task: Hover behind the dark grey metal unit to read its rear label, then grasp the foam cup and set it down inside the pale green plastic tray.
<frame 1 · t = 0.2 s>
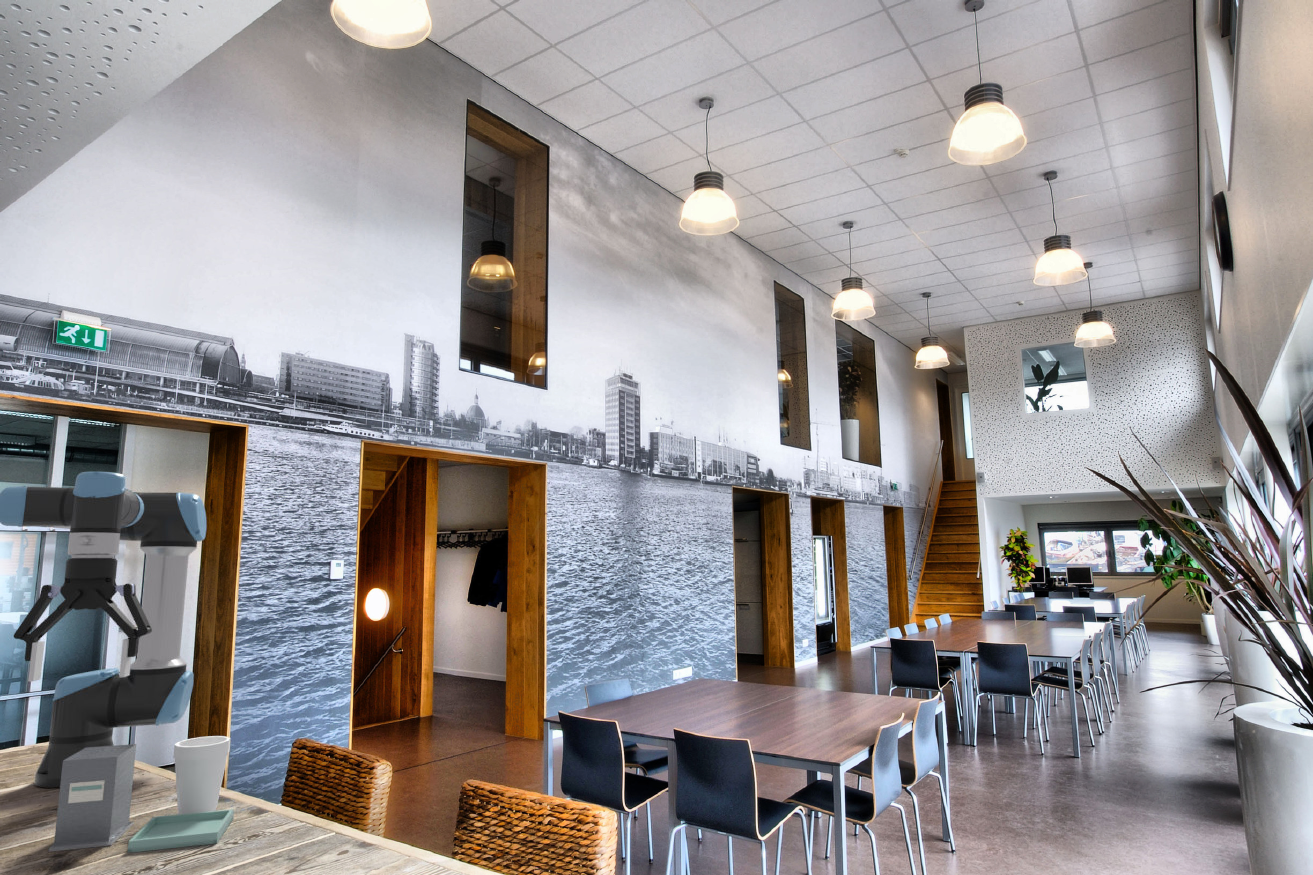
hand: (80, 678, 136), 28 cm above the table, fingers open, 13 cm apart
unit: (92, 837, 135), on the table
foam cup: (197, 812, 149), on the table
tray: (183, 834, 136), on the table
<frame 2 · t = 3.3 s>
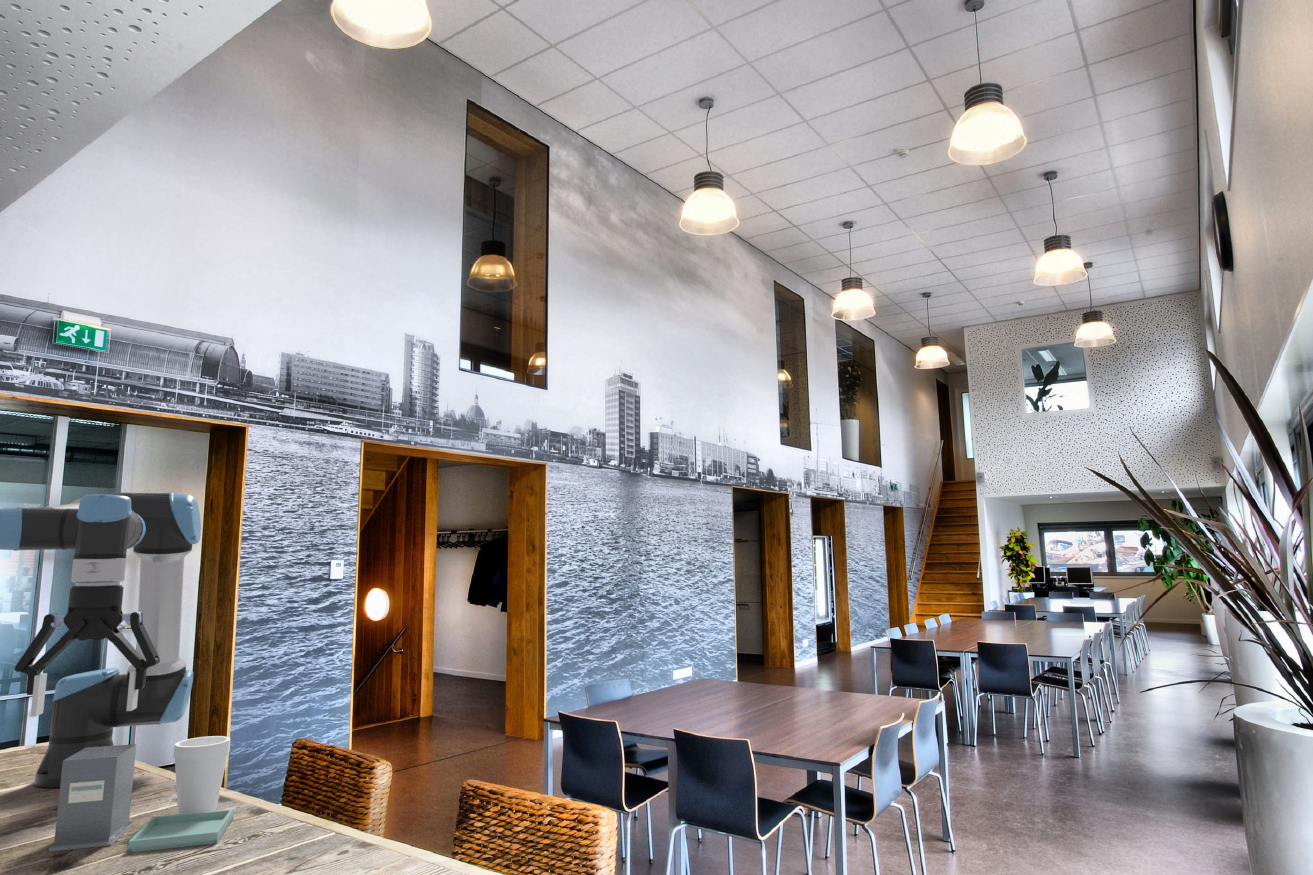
hand: (84, 712, 130), 23 cm above the table, fingers open, 13 cm apart
nothing on the table moved.
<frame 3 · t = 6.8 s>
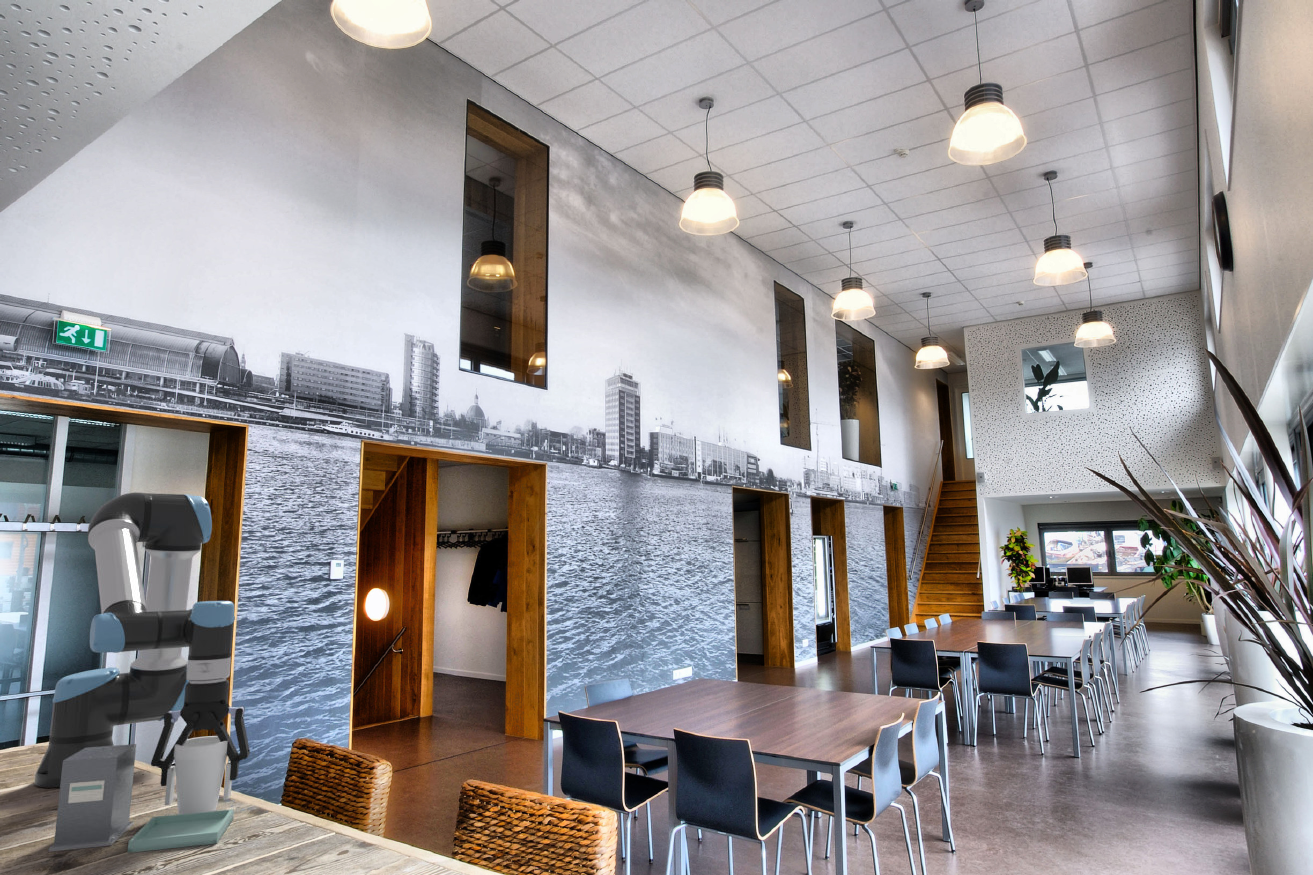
hand: (198, 800, 149), 2 cm above the table, fingers closed on foam cup, 9 cm apart
foam cup: (197, 812, 149), on the table, touching gripper
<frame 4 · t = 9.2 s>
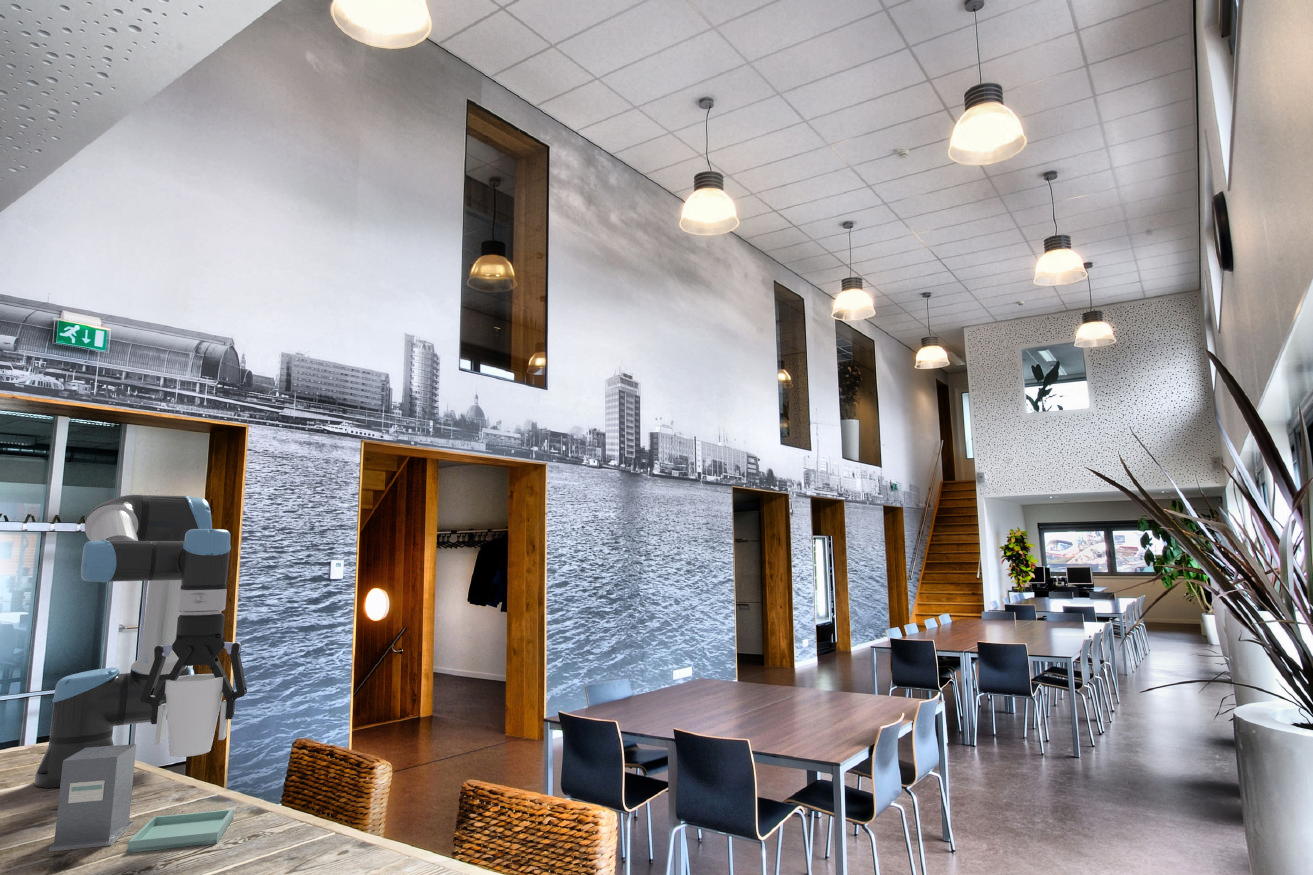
hand: (191, 740, 139), 16 cm above the table, fingers closed on foam cup, 9 cm apart
foam cup: (190, 753, 138), point 14 cm above the table, touching gripper
when the fingers open (4 cm above the table, at t = 11.7 s): foam cup drops 1 cm, resting on tray.
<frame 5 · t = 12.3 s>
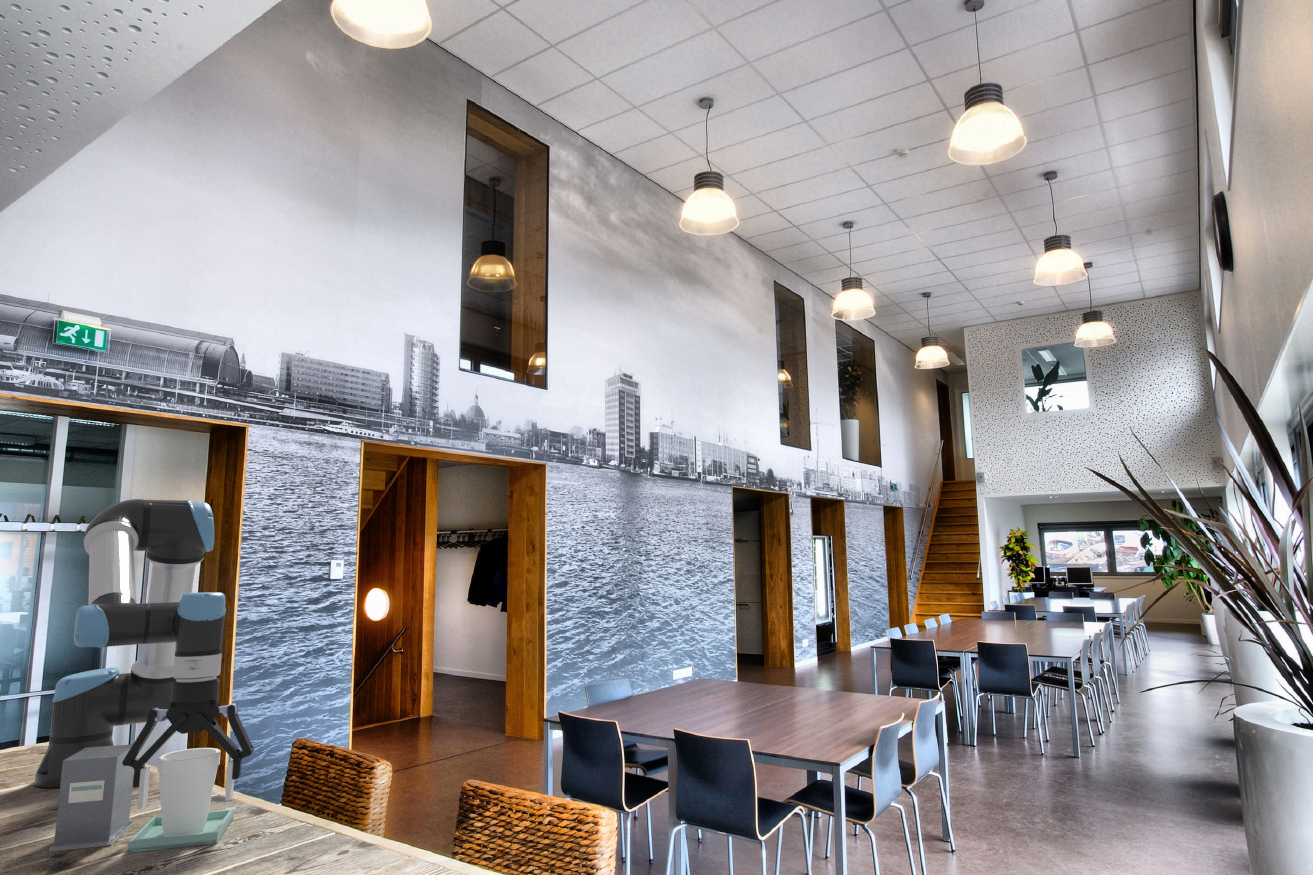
hand: (186, 802, 137), 5 cm above the table, fingers open, 13 cm apart
foam cup: (183, 832, 136), resting on tray
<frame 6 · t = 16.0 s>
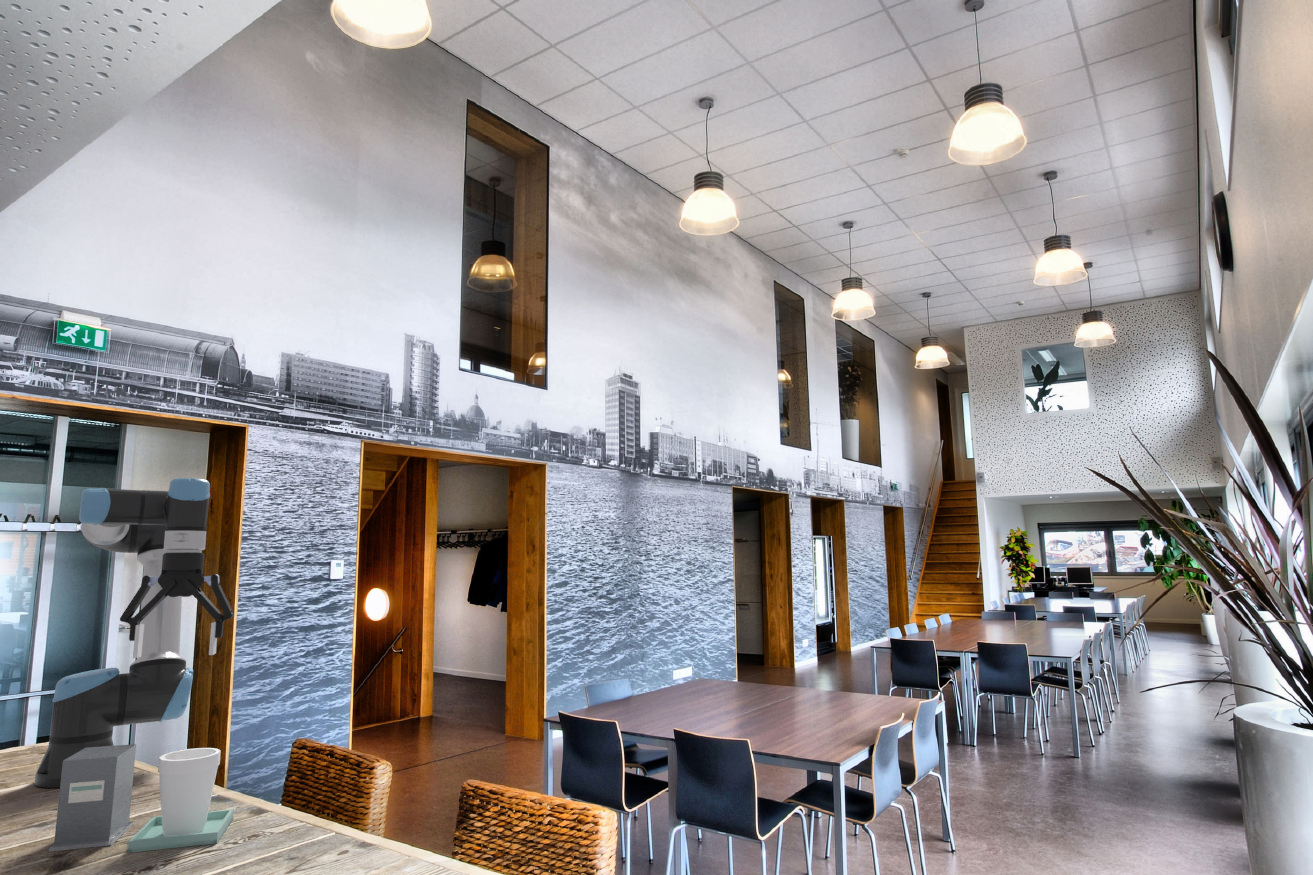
hand: (175, 655, 158), 29 cm above the table, fingers open, 13 cm apart
nothing on the table moved.
at the end: foam cup inside the target area on the tray (0.0 cm from its centre), point 0.4 cm above the tray's base; foam cup tilted 0°; the gripper is holding nothing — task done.
